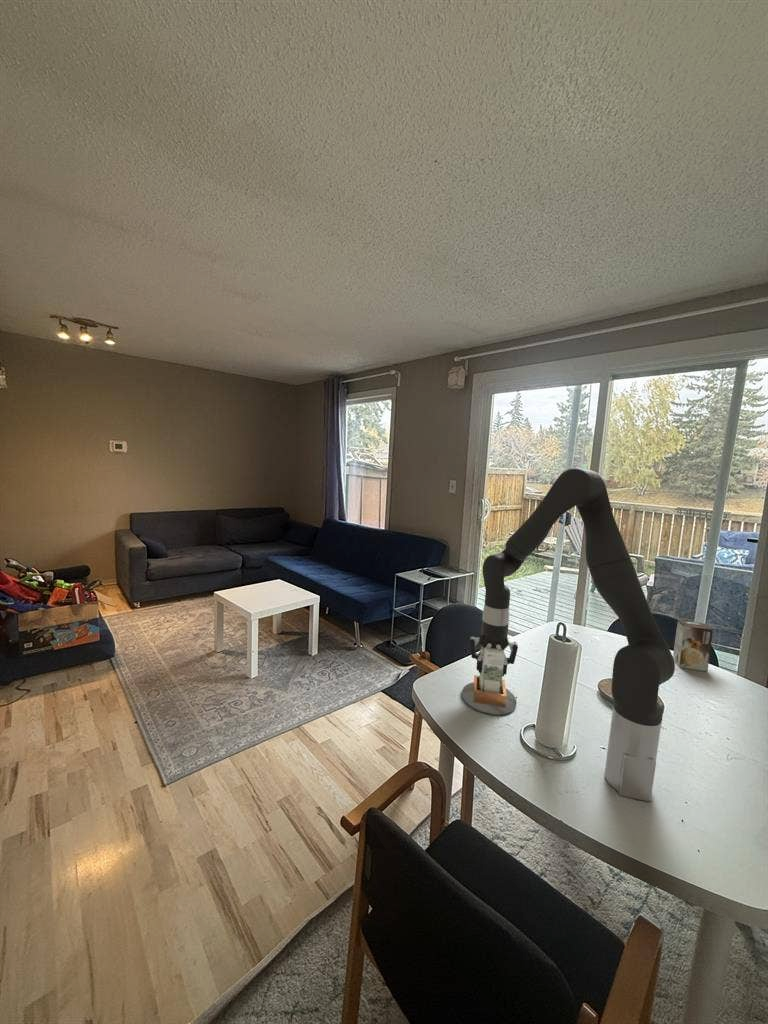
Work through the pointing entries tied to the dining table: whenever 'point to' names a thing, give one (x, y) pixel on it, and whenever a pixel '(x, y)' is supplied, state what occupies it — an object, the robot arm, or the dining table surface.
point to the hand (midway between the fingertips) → (491, 673)
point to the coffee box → (692, 645)
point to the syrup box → (491, 670)
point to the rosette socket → (488, 699)
